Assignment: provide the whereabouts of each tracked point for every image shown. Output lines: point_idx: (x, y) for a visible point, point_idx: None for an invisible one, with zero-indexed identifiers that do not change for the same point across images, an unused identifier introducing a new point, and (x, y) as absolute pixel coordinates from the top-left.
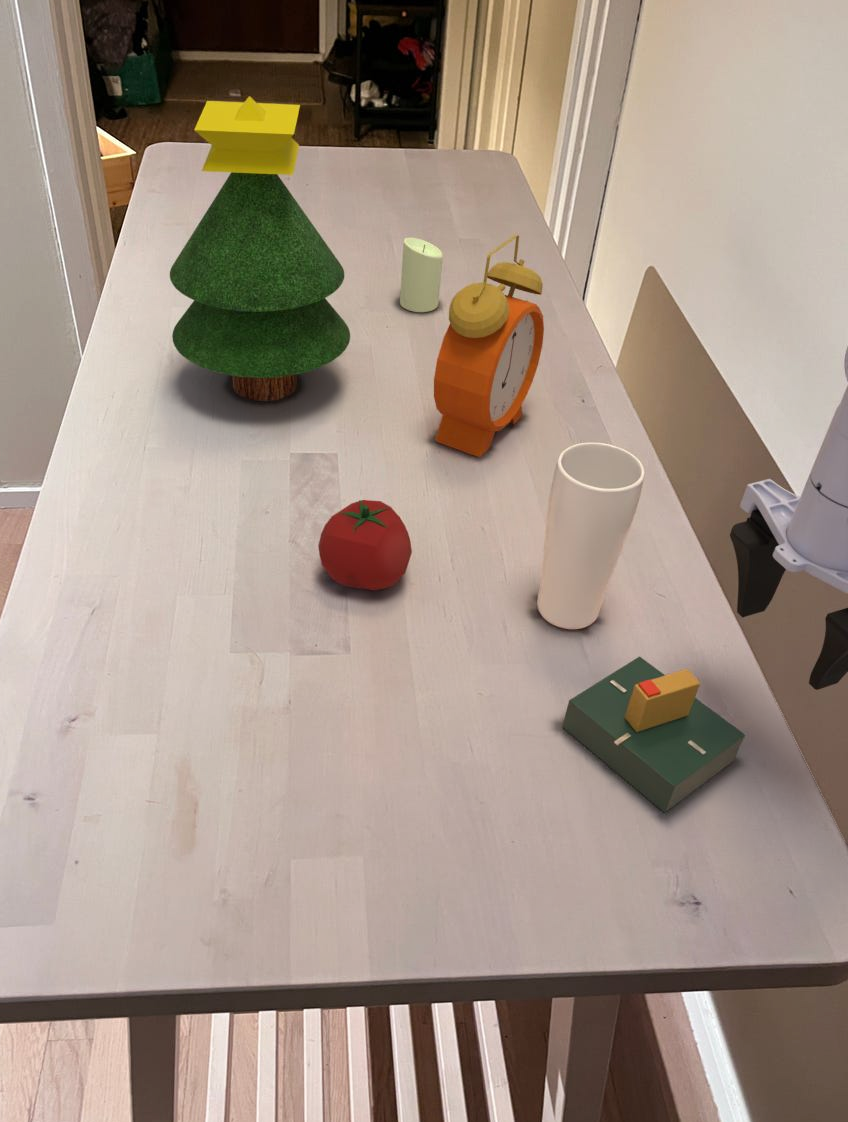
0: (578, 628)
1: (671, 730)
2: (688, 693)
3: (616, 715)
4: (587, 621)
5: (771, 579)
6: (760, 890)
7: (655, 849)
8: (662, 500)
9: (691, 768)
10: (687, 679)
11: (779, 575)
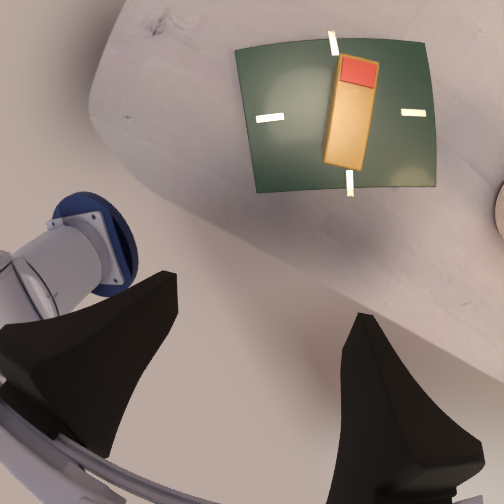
0: (499, 192)
1: (313, 111)
2: (325, 141)
3: None
4: (500, 203)
5: (351, 404)
6: (138, 92)
7: (216, 26)
8: (497, 375)
9: (247, 88)
10: (341, 149)
11: (344, 417)
